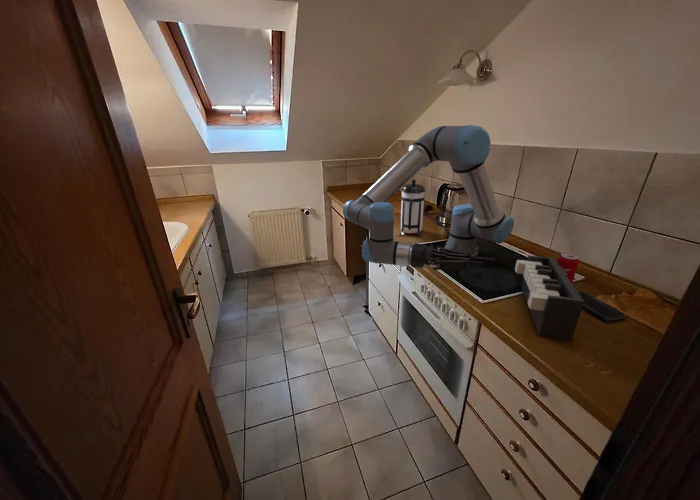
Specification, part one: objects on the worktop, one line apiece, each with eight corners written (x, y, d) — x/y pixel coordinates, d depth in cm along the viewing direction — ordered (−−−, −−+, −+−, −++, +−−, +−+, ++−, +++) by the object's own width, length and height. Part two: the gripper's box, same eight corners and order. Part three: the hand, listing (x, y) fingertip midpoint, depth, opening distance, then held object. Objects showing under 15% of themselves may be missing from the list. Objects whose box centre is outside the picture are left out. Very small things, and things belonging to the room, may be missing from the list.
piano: (516, 286, 112) (523, 254, 107) (545, 290, 109) (554, 257, 104) (533, 334, 87) (543, 296, 81) (571, 341, 84) (584, 301, 79)
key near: (527, 303, 88) (530, 292, 86) (556, 307, 86) (560, 295, 84) (529, 309, 86) (532, 297, 84) (559, 313, 83) (563, 301, 82)
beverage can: (550, 279, 116) (558, 251, 111) (570, 282, 113) (578, 253, 108) (552, 286, 111) (560, 257, 106) (572, 290, 108) (581, 260, 103)
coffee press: (391, 231, 172) (392, 179, 161) (414, 227, 178) (417, 176, 167) (408, 240, 158) (411, 184, 146) (432, 235, 164) (437, 180, 152)
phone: (606, 319, 90) (564, 293, 104) (605, 322, 91) (563, 296, 104) (627, 315, 91) (583, 291, 105) (626, 318, 92) (582, 293, 105)
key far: (514, 269, 108) (517, 259, 107) (538, 272, 106) (540, 262, 104) (516, 273, 106) (518, 263, 104) (540, 275, 103) (542, 265, 102)
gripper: (413, 257, 100) (490, 265, 92) (407, 275, 88) (494, 286, 81) (415, 236, 97) (494, 243, 90) (409, 252, 85) (499, 261, 78)
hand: (494, 263), depth 85 cm, fingers closed
